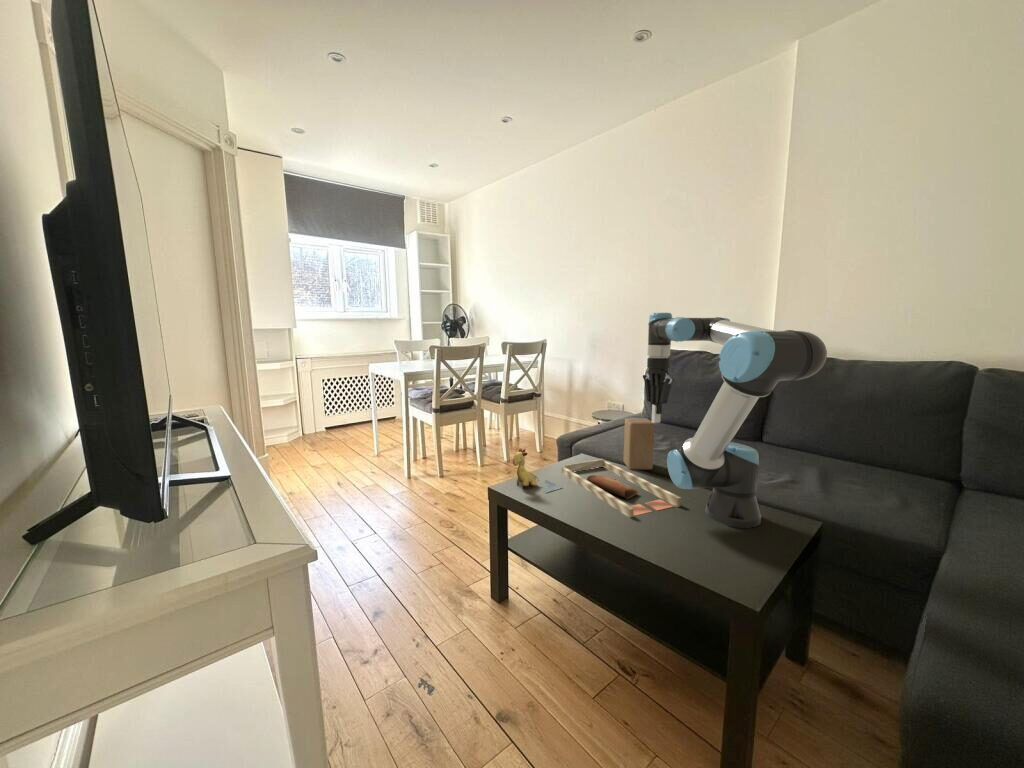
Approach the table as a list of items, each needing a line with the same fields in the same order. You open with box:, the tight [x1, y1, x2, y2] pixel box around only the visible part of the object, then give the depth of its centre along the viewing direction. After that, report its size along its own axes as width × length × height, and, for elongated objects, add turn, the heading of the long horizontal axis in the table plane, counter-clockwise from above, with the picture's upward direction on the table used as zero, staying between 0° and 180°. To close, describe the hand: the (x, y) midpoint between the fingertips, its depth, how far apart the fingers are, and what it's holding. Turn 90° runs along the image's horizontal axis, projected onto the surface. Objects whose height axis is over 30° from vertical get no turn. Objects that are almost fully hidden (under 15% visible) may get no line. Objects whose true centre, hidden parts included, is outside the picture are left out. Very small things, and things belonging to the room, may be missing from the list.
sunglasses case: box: [586, 474, 640, 500], centre depth 145 cm, size 18×7×7 cm
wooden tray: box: [561, 458, 682, 519], centre depth 146 cm, size 41×21×4 cm, turn 23°
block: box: [623, 417, 655, 471], centre depth 169 cm, size 10×10×20 cm
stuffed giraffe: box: [512, 447, 562, 496], centre depth 146 cm, size 16×18×16 cm
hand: (655, 422), depth 145 cm, fingers closed
